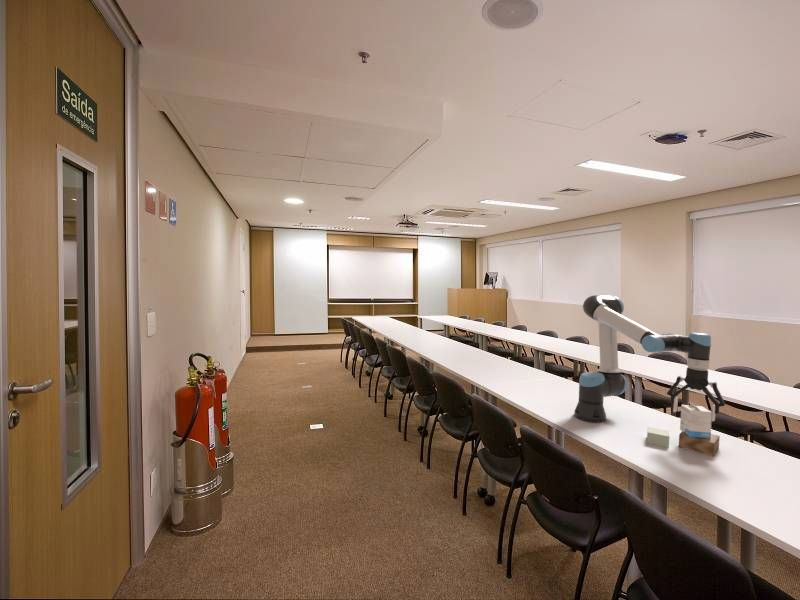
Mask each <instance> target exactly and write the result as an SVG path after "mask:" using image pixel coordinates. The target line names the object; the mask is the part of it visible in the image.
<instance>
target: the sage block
mask: <svg viewBox="0 0 800 600" xmlns="http://www.w3.org/2000/svg"><path fill="white" fill-rule="evenodd" d="M669 431H670V430H666V429H662V428H661V429H660V428H655V427H650V426H647V433H646V443H647V444H651V445H656V446H660V447H666V448H670V432H669Z"/></svg>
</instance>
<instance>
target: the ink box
mask: <svg viewBox="0 0 800 600" xmlns="http://www.w3.org/2000/svg"><path fill="white" fill-rule="evenodd" d="M689 404H690V405H689ZM680 408H681V409H680V422H679V423H680V425H679V430H680V431H681V432H684V433H685V434H686V435H688V436H689V437H699V438H709V439H711V434H712V411H711V410H709V409H707V408H706V407H704V406H701V405H695V404H693V403H691V402H690V401H688V404H681V407H680Z"/></svg>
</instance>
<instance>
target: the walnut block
mask: <svg viewBox="0 0 800 600" xmlns="http://www.w3.org/2000/svg"><path fill="white" fill-rule="evenodd" d="M678 447H679V448H682V449H685V450H688V449H689V451H692V450H693V452H696V453H699V452H700V453H699V454H703V455H707V456H711V457H715V455H716V454H717V452H718V450H719V449H720V448H719V447H720V435H718V434H715V433H714V434H713V433H711V439H709V438H699V437H689V436H688V435H686V434H685V433H684V432H682V431H681V432H680V433H679V436H678Z"/></svg>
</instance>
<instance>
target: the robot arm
mask: <svg viewBox="0 0 800 600" xmlns="http://www.w3.org/2000/svg"><path fill="white" fill-rule="evenodd" d="M582 310H583V312H584V313H585V315H586V316H588V318H591V319H592V320H594V321H595V322H596V323H598V341H599V345H598V346H599V365H600V366H599V368H598V369H596V371H586V372H583V373H581V374H580V375H579V381H578V401H577V404H576V406H575V409H574V415H573V416H574V417H575V418H576V419H579V420H581V421H584V422H589V423H596V424H597V423H605V422H606V421H607V414H606V410H605V407H604V398H606V397H616V396H619V395H623V393H625V392H626V389H627V387H628V382H627V381H628V380H627V379H626V378H625V375H623V374H622V373H623V372H622V370H621V369H620V368H619V354H618V353H619V352H618V332H619V333H621V334H622V335H625V336H626V337H628V338H629V339H631V340H633V341H635V342H637V343H638V344H640V345H641V347H642V348H643V350H644V351H645V352H647V353H654V354H656V353H657V354H658V353H663V352H664V353H665V352H667V353H668V352H680V353H685V354H687V360H686V361H687V362H686V372H685V373H686V374H685V377H683V376H681V375H678V376H677V377H676V381H675V382H674V383H673V384H672V386H671V387H670V388H669V390H668V391H667V392H666V395H667V396H670V397H671V399H670V402H671V405H673V413H677V409H678V395H679V394H681V393H683V392H684V391H685V390H687V389H688V388H689V389H691V390H697V391H702V392H703V393H704V394H705V395H706V396H707V397H708V398H709V400H710V401H711V402H712V403H713V405H712V411H711V412H712V419H711V422H715V421H716V415H718V414H719V413H720V407H725V405H726V402H725V401H724V398H723V397H722V394H721V392H720V390H719V388H718V383H717V381H715V382H712V381H709V368H710V354H711V347H712V336H711V335H710V334H709V333H703V332H690V333H689V335H683V334H678V333H677V334H676V333H669V332H665V333H664V332H663V333H661V334H658V333H657V332H654V331H652V330H651V329H649V328H647V327H645V326H643V325H641V324H639V323H637V322H636V321H633V320H632V319H630V318H628V317H626V316H625V315H622V314H623V313H624V310H625V307H624V303H623V301H622V300H621V299H620V298H619V297H618V296H616V295H609V294H607V295H606V294H605V295H599V294H598V295H597V294H596V295H595V294H594V295H590V296H588V297H587V298H585V300H584V302H583V304H582ZM683 381H684V383H685V385H684V386H682V387H681V388H679V389H678V390H676V388H677V387H678V385H679V384H680V383H681V382H683ZM708 386H710V388H712V390H713V392H714V394H715V396H716V397H715V396H714V395H713V394H712V392H711V391H710V390H709V389H708V388H707V387H708ZM674 390H676V391H675V392H674ZM716 398H717V399H716Z"/></svg>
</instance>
